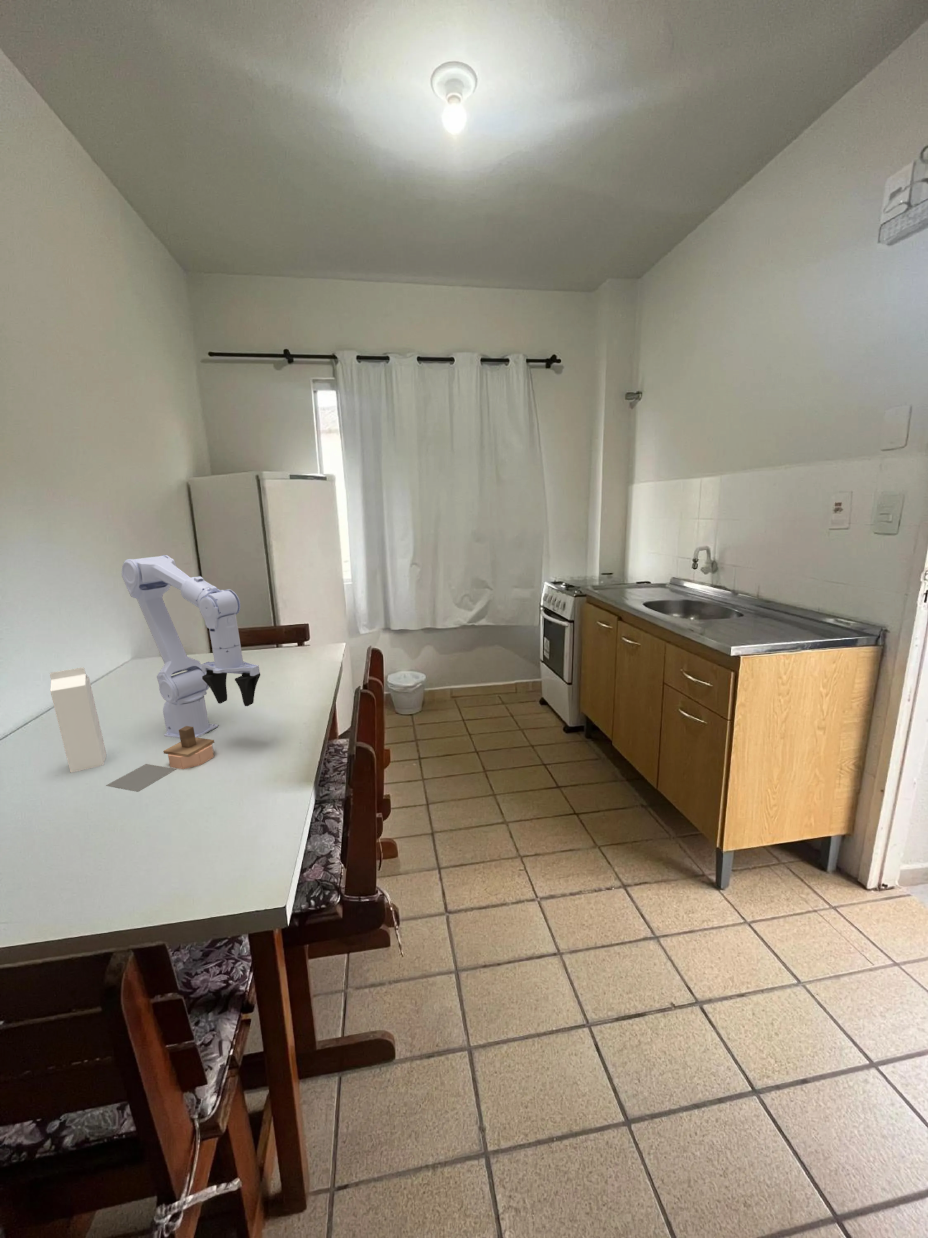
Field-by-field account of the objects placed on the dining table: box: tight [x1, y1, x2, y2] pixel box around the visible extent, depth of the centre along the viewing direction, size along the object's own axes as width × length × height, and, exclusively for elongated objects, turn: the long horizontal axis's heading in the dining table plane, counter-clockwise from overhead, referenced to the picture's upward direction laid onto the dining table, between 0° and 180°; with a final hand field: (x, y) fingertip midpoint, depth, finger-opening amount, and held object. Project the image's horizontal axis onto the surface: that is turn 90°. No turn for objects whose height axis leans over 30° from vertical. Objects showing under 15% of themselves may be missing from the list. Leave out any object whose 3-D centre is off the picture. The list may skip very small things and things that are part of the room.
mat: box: [105, 763, 178, 793], centre depth 106 cm, size 9×9×1 cm
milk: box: [49, 666, 108, 774], centre depth 111 cm, size 6×6×22 cm
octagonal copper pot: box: [167, 743, 215, 770], centre depth 112 cm, size 8×8×3 cm
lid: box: [162, 726, 215, 757], centre depth 111 cm, size 7×7×5 cm
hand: (235, 703), depth 116 cm, fingers open, 7 cm apart
